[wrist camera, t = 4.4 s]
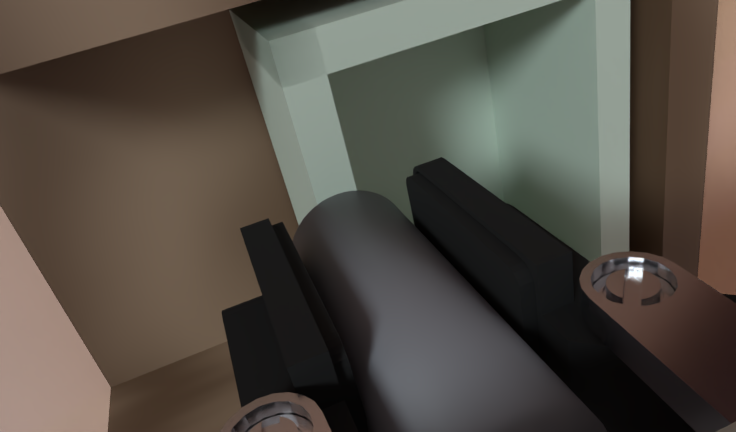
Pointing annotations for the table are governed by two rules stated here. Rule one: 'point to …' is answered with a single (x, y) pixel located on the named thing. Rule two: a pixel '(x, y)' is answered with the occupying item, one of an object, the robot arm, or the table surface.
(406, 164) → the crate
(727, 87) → the table surface
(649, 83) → the bay
